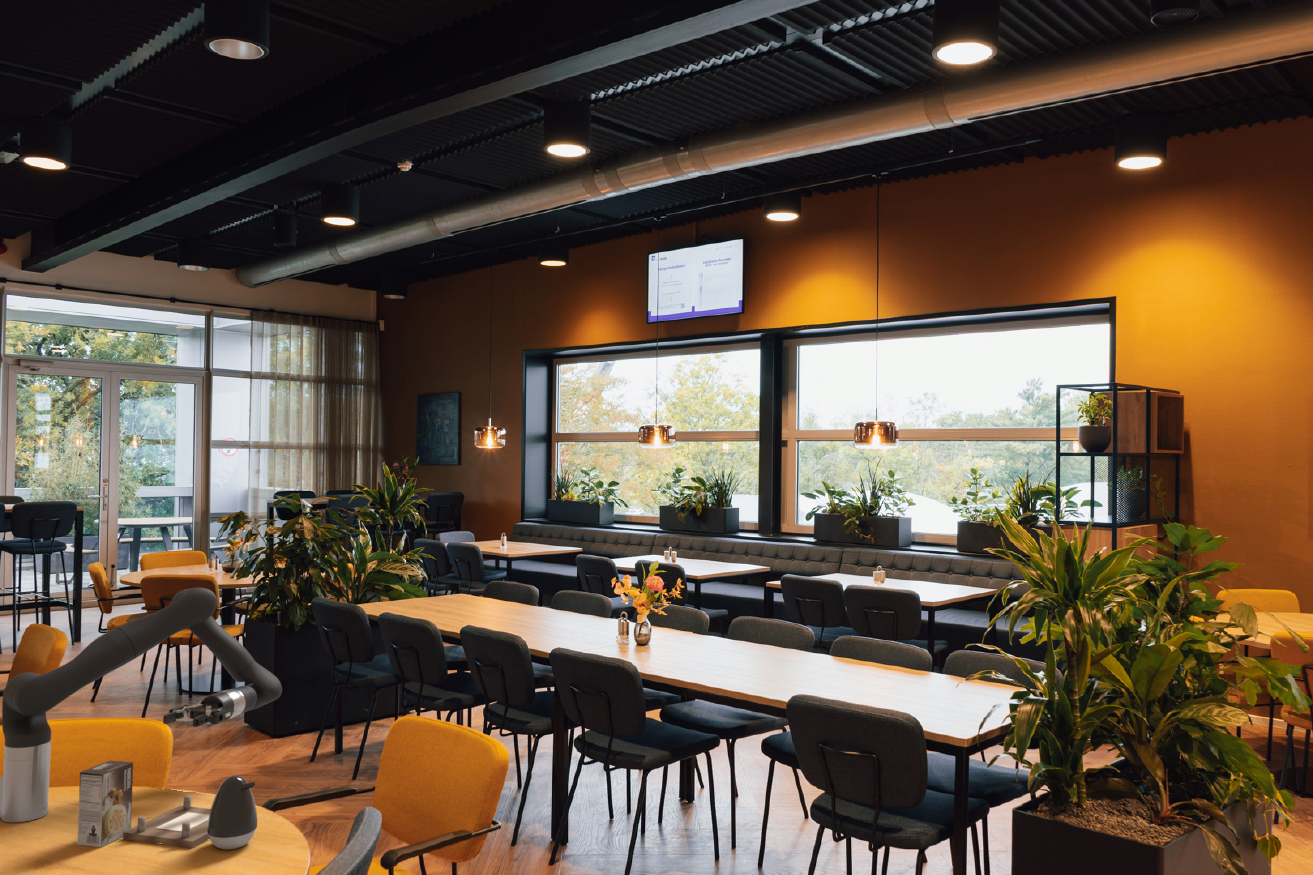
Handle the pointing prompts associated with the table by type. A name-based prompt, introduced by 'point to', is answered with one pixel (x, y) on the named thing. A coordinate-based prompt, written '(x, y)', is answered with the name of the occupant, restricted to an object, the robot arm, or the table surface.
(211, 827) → the pump dispenser
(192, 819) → the peg stand
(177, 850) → the table surface
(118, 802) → the coffee box
